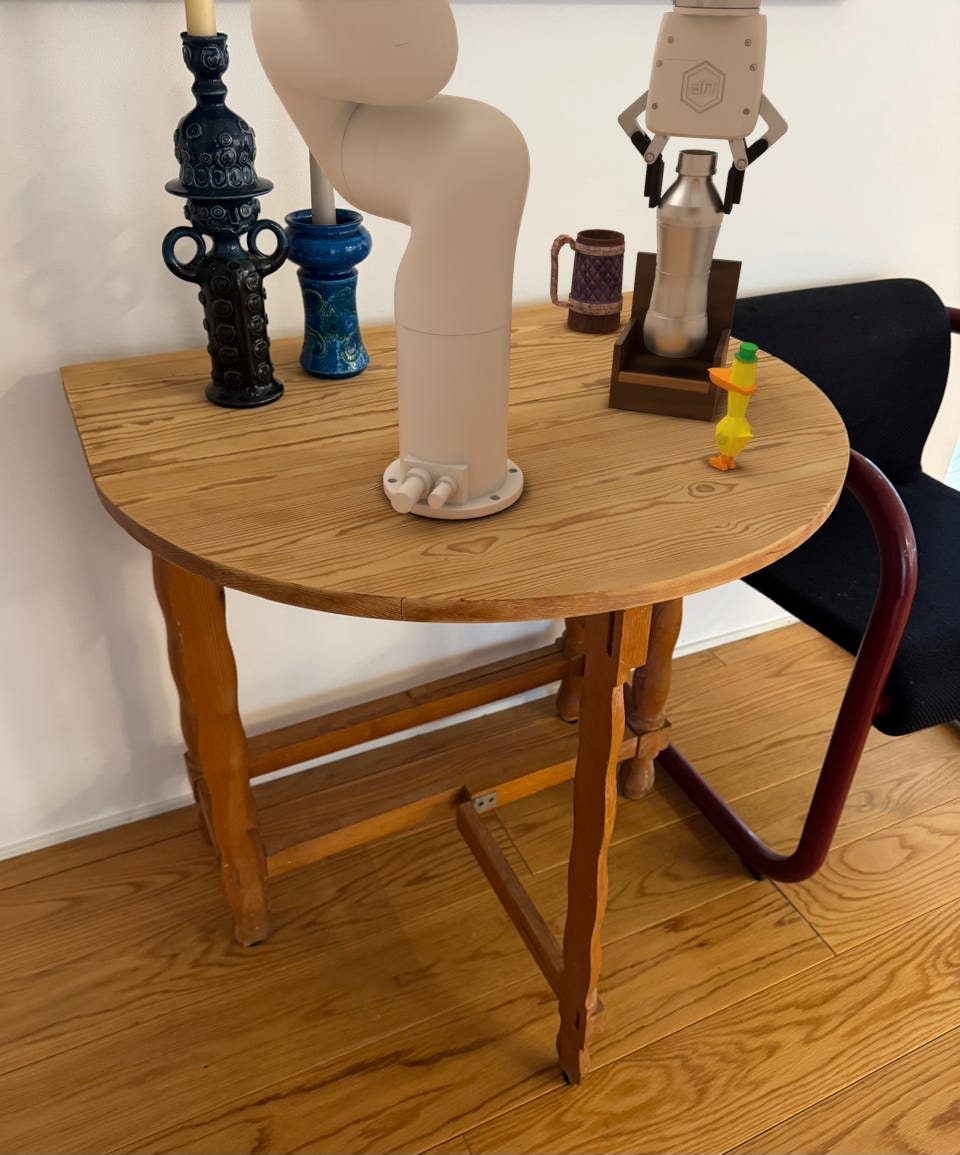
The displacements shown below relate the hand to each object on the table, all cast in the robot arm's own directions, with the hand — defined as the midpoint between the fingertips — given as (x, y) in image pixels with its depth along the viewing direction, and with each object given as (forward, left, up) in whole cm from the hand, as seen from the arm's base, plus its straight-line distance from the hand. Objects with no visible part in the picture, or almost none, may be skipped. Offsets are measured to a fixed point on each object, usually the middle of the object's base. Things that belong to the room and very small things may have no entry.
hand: (690, 206), depth 93 cm
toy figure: (-15, -7, -20) cm, 26 cm away
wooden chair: (0, 0, -20) cm, 20 cm away
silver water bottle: (0, 0, -15) cm, 15 cm away
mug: (+20, +14, -20) cm, 32 cm away
